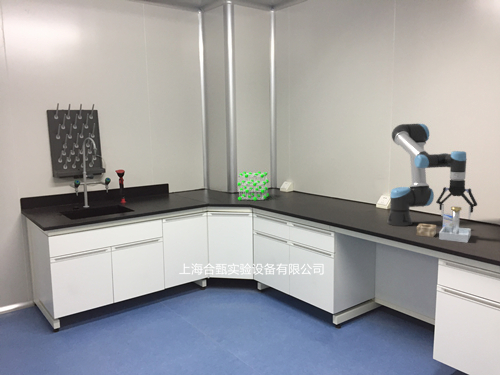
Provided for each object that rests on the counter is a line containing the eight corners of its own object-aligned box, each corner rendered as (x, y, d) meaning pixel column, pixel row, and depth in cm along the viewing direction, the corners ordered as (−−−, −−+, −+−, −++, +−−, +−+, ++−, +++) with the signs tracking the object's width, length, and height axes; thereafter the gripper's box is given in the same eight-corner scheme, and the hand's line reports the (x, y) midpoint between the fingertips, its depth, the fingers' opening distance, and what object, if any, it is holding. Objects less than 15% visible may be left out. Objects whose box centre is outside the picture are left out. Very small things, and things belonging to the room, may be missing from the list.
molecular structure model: (264, 201, 358) (263, 174, 354) (237, 200, 364) (236, 174, 360) (269, 196, 381) (268, 171, 378) (244, 196, 387) (243, 171, 384)
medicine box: (442, 227, 248) (442, 214, 247) (447, 226, 250) (448, 213, 249) (453, 230, 241) (453, 216, 240) (458, 229, 243) (459, 215, 242)
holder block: (416, 235, 233) (416, 226, 233) (419, 231, 241) (420, 223, 240) (433, 237, 228) (433, 228, 228) (436, 233, 236) (436, 225, 235)
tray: (438, 239, 224) (439, 232, 223) (443, 232, 237) (443, 226, 236) (467, 242, 216) (467, 235, 215) (470, 235, 229) (470, 228, 228)
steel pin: (449, 236, 225) (450, 207, 223) (450, 234, 230) (451, 206, 227) (459, 237, 223) (460, 208, 220) (460, 235, 227) (462, 207, 224)
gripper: (431, 179, 225) (430, 216, 229) (482, 181, 212) (480, 220, 215) (434, 177, 232) (432, 213, 235) (484, 179, 218) (481, 217, 221)
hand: (455, 217), depth 225 cm, fingers open, 13 cm apart
